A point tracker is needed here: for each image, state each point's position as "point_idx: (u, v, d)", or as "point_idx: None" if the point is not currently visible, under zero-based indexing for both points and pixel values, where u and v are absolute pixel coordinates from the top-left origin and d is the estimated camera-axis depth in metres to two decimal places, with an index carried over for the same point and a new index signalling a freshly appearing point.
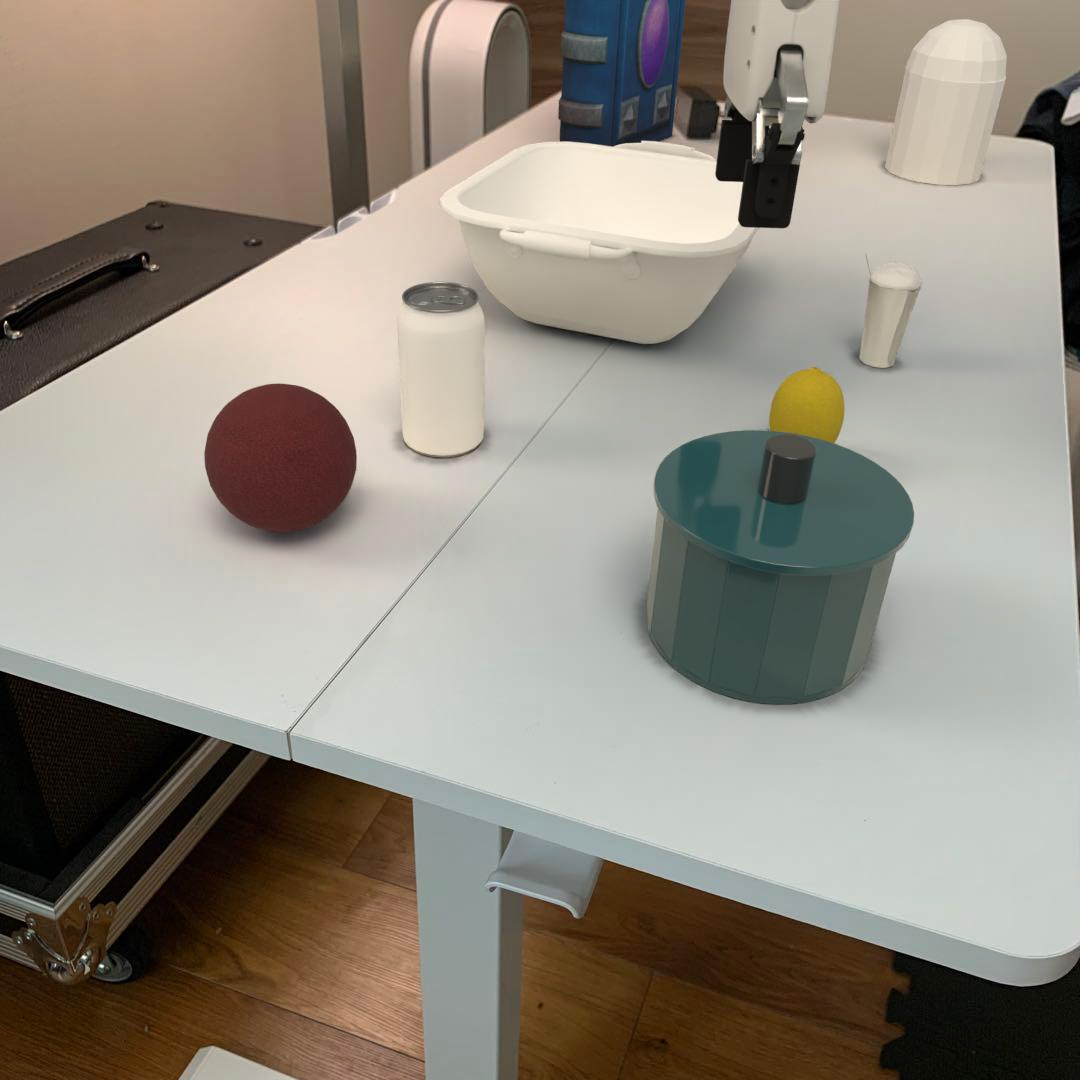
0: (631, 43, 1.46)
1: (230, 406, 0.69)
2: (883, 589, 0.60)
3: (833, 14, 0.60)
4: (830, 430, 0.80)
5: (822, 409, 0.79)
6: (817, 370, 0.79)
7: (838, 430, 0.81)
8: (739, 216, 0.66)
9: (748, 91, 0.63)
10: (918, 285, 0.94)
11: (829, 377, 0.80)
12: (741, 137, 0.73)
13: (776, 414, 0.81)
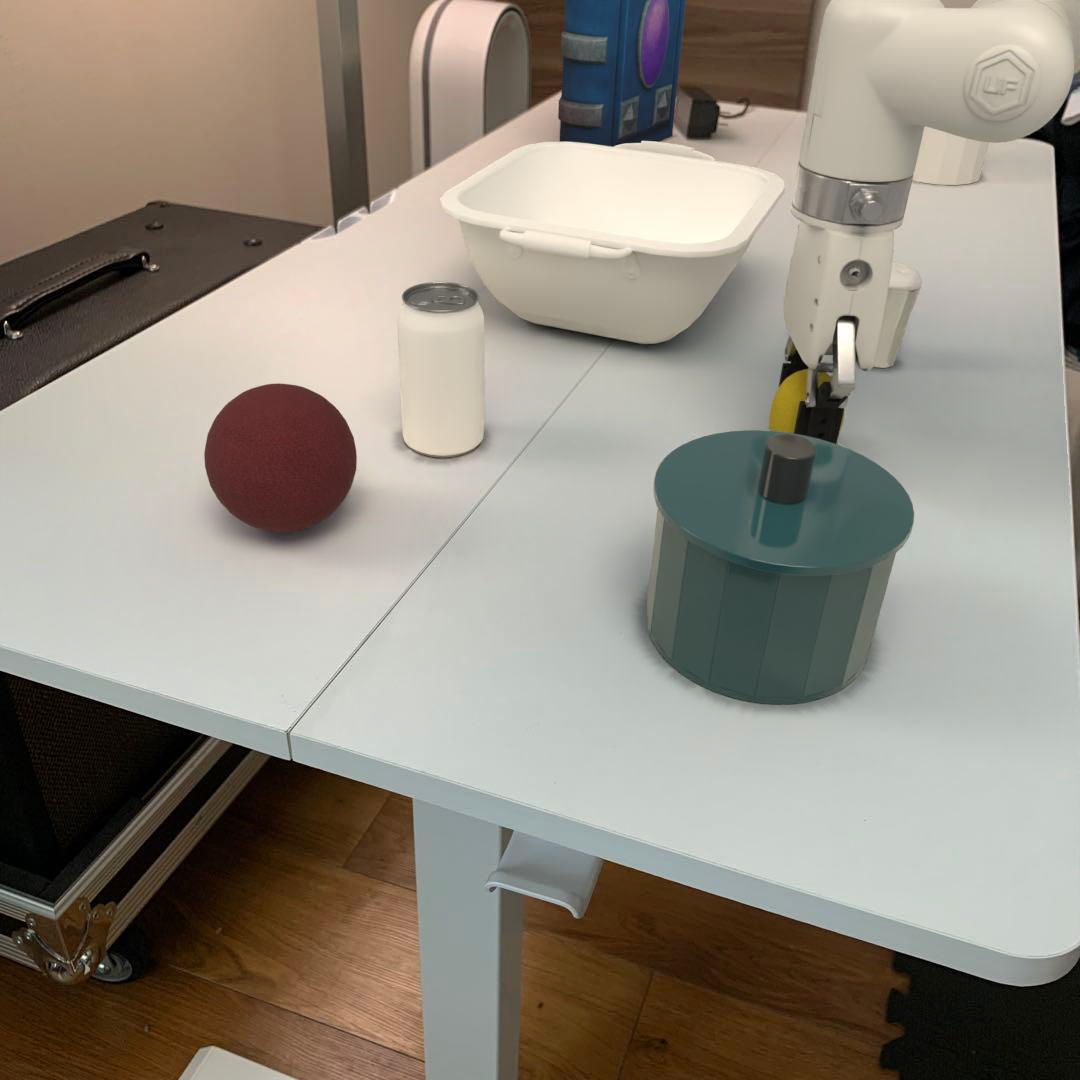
0: (631, 43, 1.46)
1: (230, 406, 0.69)
2: (883, 589, 0.60)
3: (884, 292, 0.71)
4: None
5: None
6: None
7: None
8: None
9: (810, 348, 0.74)
10: (918, 285, 0.94)
11: (829, 377, 0.80)
12: None
13: (776, 414, 0.81)
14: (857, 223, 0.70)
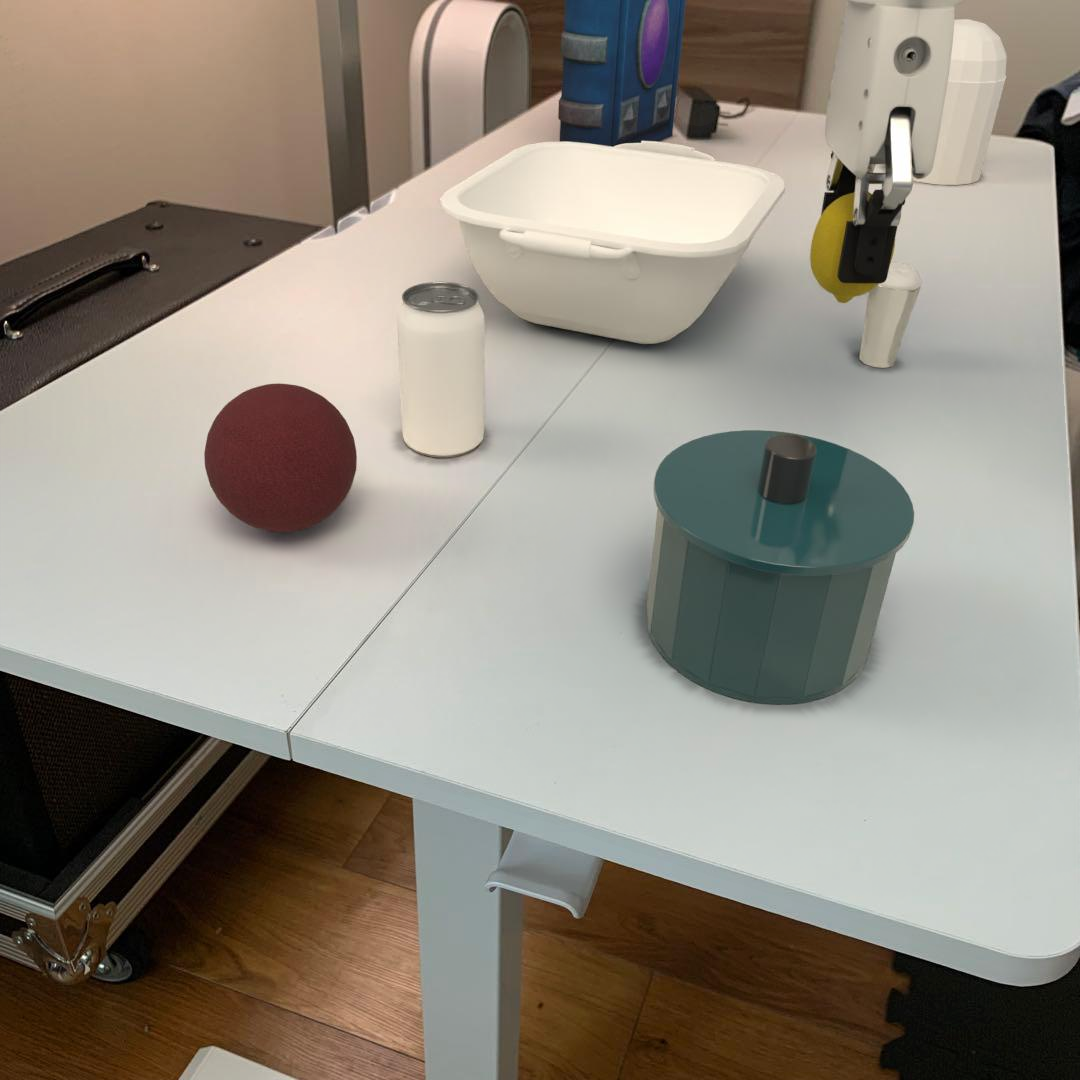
0: (631, 43, 1.46)
1: (230, 406, 0.69)
2: (883, 589, 0.60)
3: (944, 77, 0.63)
4: None
5: None
6: None
7: None
8: (839, 273, 0.71)
9: (860, 150, 0.65)
10: (918, 285, 0.94)
11: None
12: None
13: (819, 244, 0.72)
14: None
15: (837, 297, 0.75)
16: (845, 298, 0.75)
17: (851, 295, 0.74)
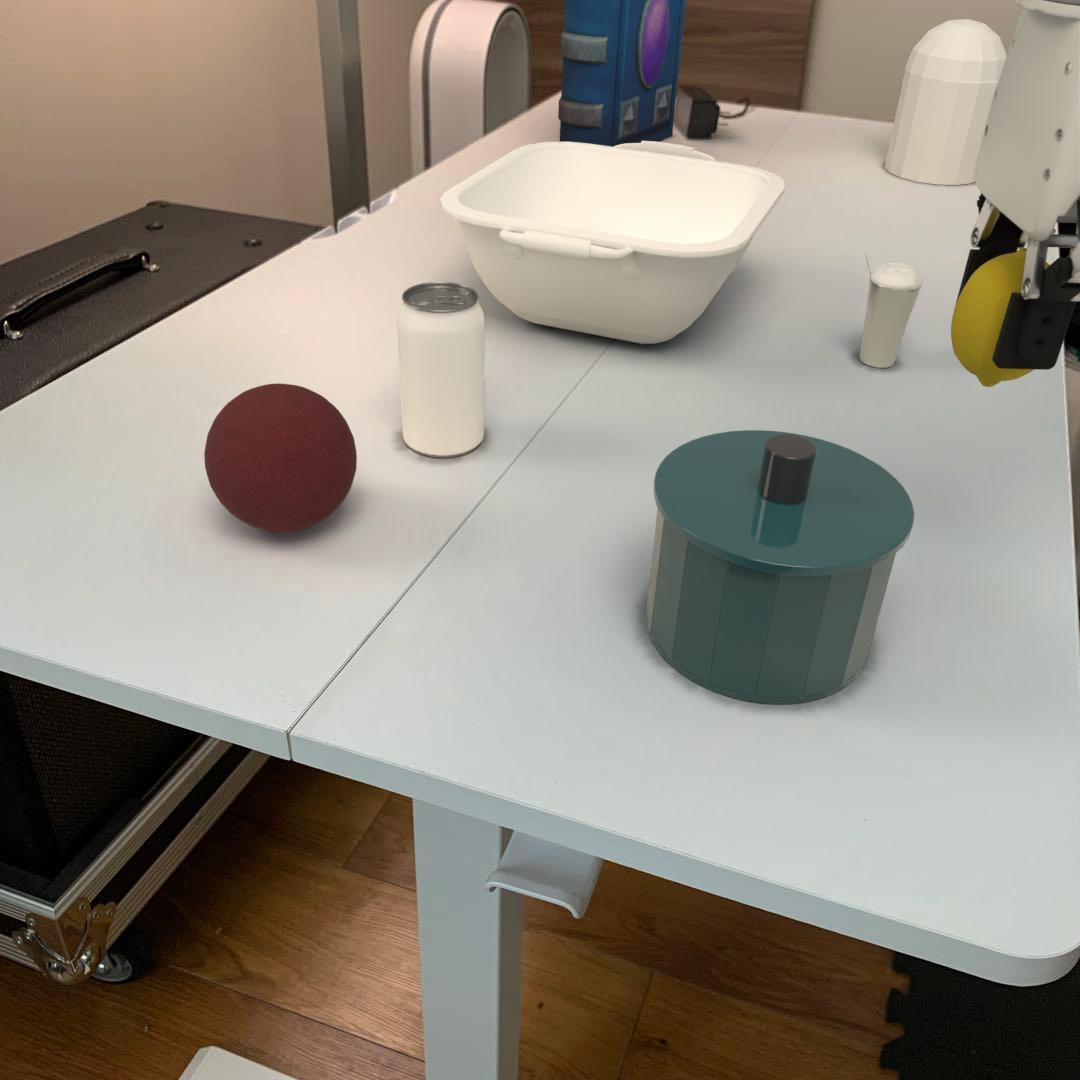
0: (631, 43, 1.46)
1: (230, 406, 0.69)
2: (883, 589, 0.60)
3: None
4: None
5: None
6: None
7: None
8: (996, 356, 0.56)
9: (1044, 207, 0.50)
10: (918, 285, 0.94)
11: (1046, 263, 0.56)
12: None
13: (967, 316, 0.57)
14: None
15: (982, 380, 0.60)
16: (993, 382, 0.60)
17: (1003, 380, 0.59)
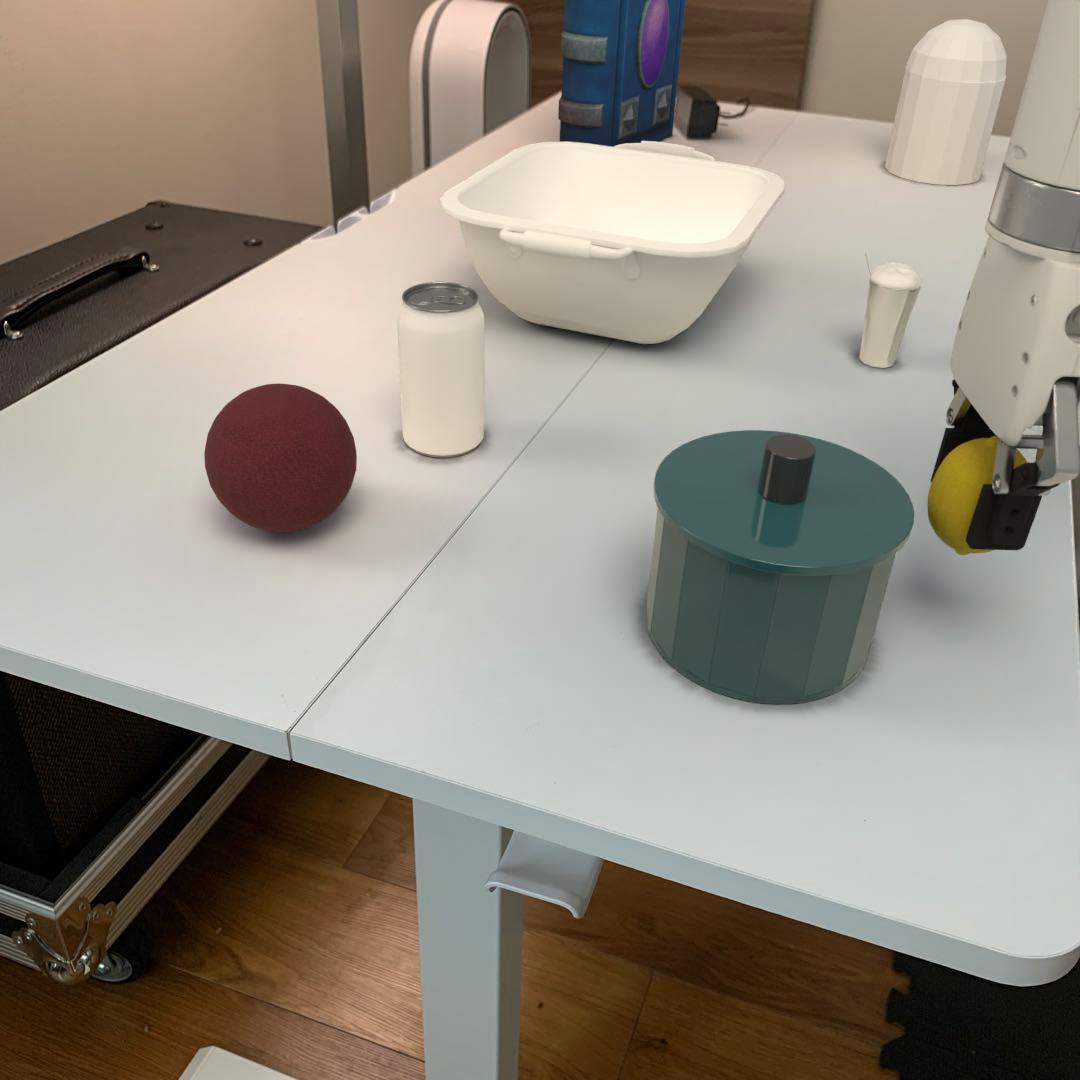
0: (631, 43, 1.46)
1: (230, 406, 0.69)
2: (883, 589, 0.60)
3: None
4: None
5: None
6: None
7: None
8: (969, 538, 0.60)
9: (1012, 419, 0.54)
10: (918, 285, 0.94)
11: None
12: None
13: (942, 497, 0.61)
14: None
15: (957, 550, 0.64)
16: (967, 552, 0.64)
17: (976, 553, 0.63)
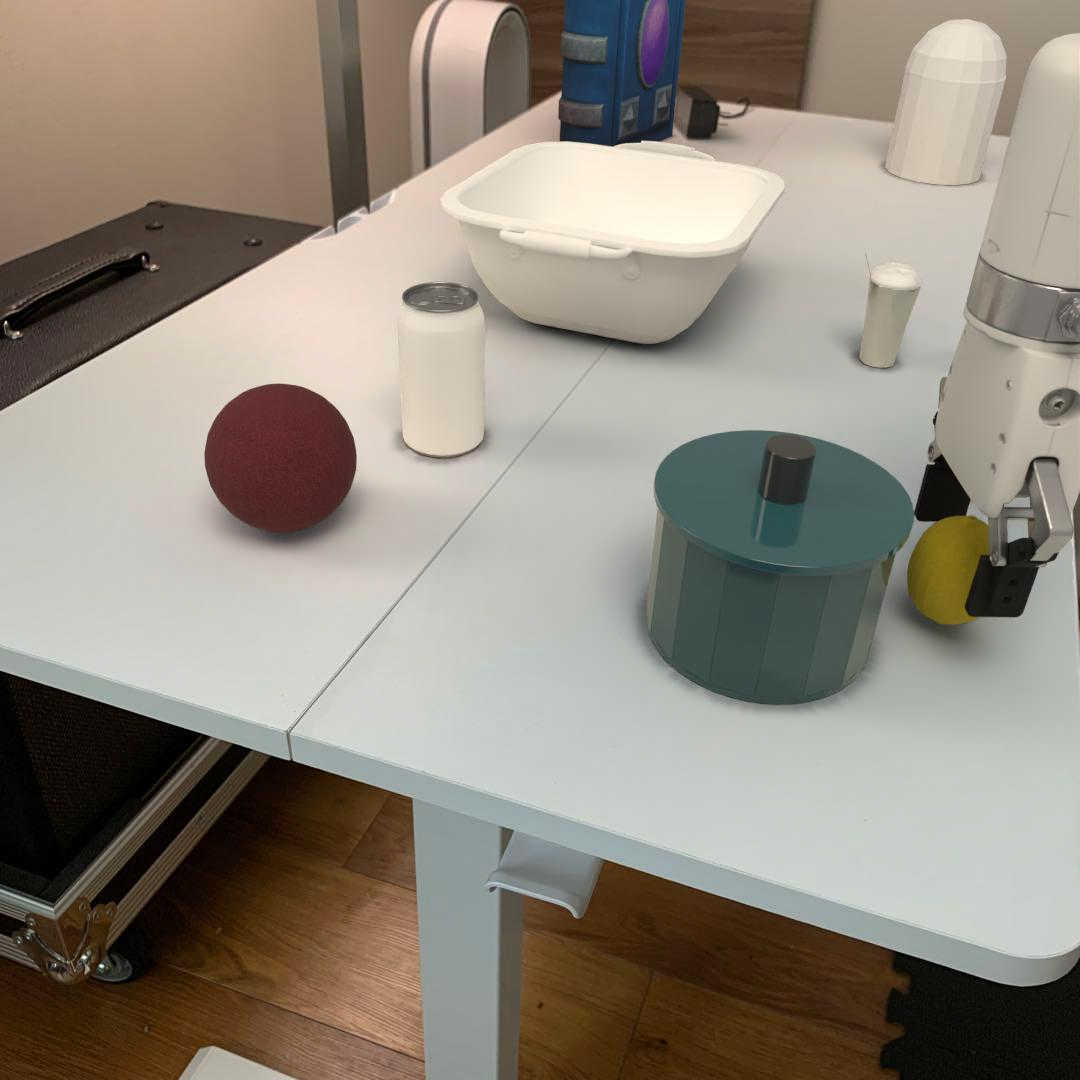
0: (631, 43, 1.46)
1: (230, 406, 0.69)
2: (883, 589, 0.60)
3: None
4: None
5: None
6: (974, 520, 0.63)
7: None
8: (967, 606, 0.61)
9: (991, 495, 0.57)
10: (918, 285, 0.94)
11: None
12: (948, 483, 0.67)
13: (920, 573, 0.64)
14: (1065, 341, 0.53)
15: None
16: None
17: (953, 624, 0.66)
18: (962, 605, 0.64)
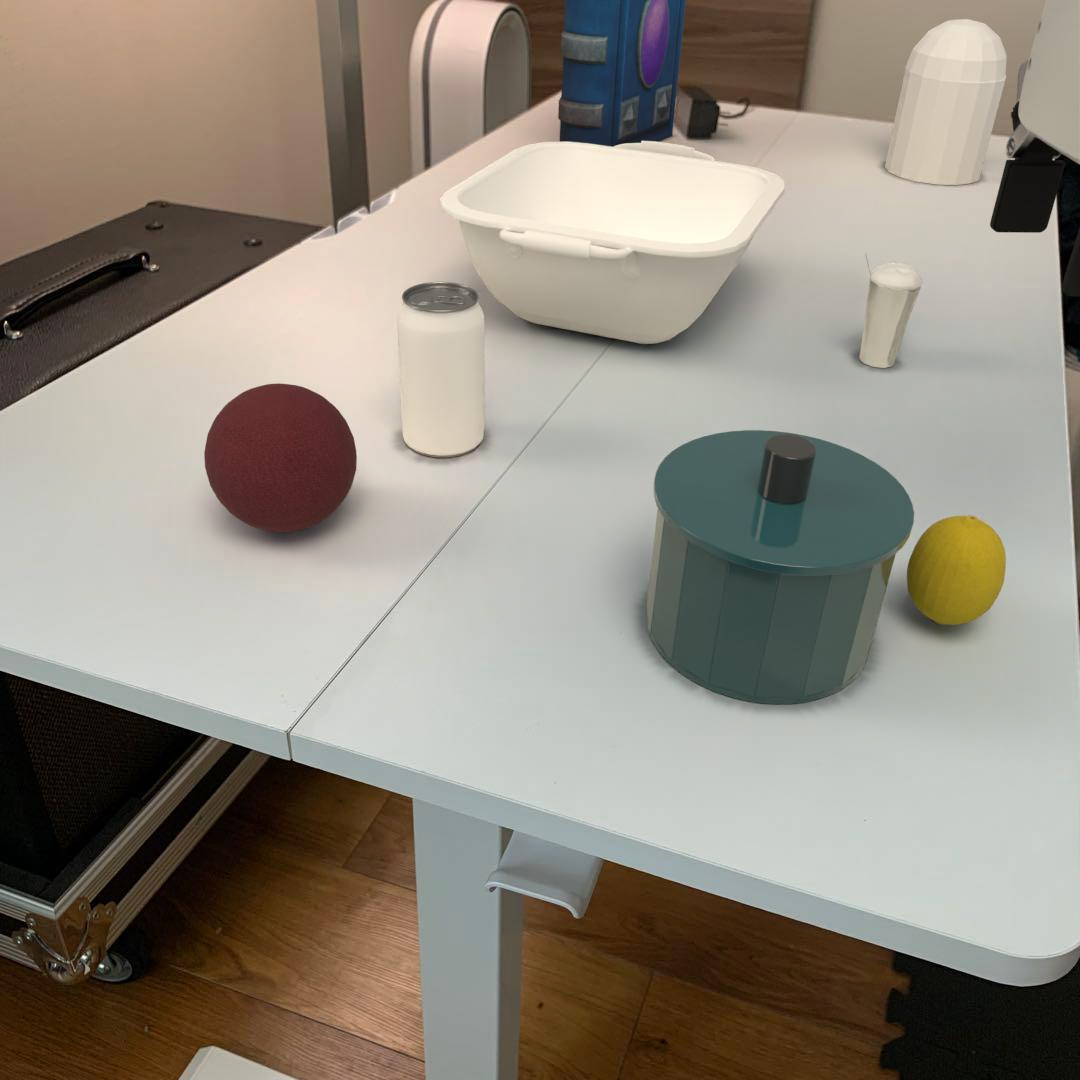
0: (631, 43, 1.46)
1: (230, 406, 0.69)
2: (883, 589, 0.60)
3: None
4: (990, 595, 0.63)
5: (982, 571, 0.62)
6: (974, 520, 0.63)
7: (998, 593, 0.64)
8: (1066, 283, 0.54)
9: None
10: (918, 285, 0.94)
11: (989, 529, 0.63)
12: (1030, 180, 0.61)
13: (920, 573, 0.64)
14: None
15: None
16: None
17: (953, 624, 0.66)
18: (962, 605, 0.64)
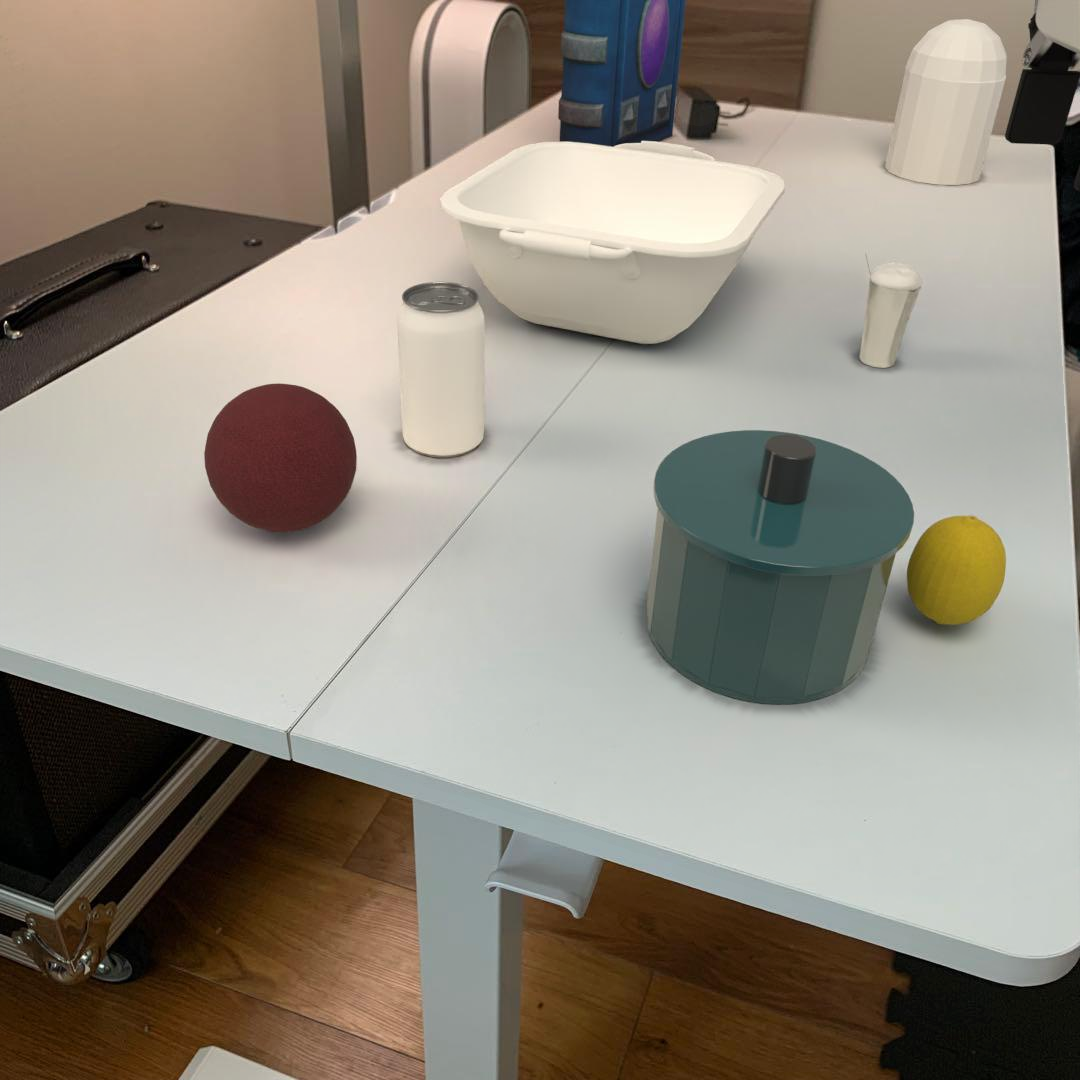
0: (631, 43, 1.46)
1: (230, 406, 0.69)
2: (883, 589, 0.60)
3: None
4: (990, 595, 0.63)
5: (982, 571, 0.62)
6: (974, 520, 0.63)
7: (998, 593, 0.64)
8: (1078, 180, 0.55)
9: None
10: (918, 285, 0.94)
11: (989, 529, 0.63)
12: (1045, 90, 0.61)
13: (920, 573, 0.64)
14: None
15: None
16: None
17: (953, 624, 0.66)
18: (962, 605, 0.64)
